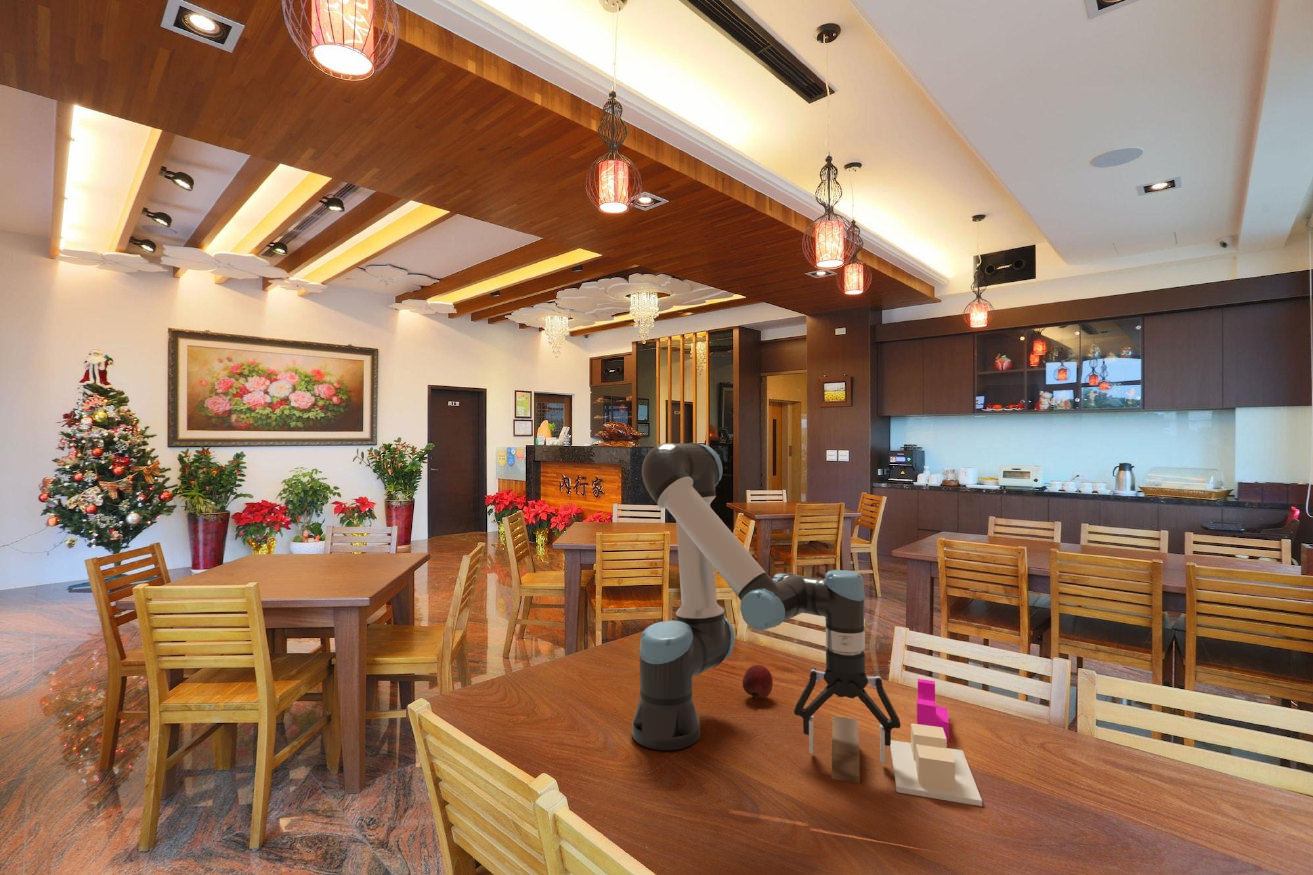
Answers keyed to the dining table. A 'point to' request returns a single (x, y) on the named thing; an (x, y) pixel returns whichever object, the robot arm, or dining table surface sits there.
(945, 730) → the toy block
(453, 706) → the dining table surface
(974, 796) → the post board
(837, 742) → the lintel block
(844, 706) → the dining table surface
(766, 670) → the apple
